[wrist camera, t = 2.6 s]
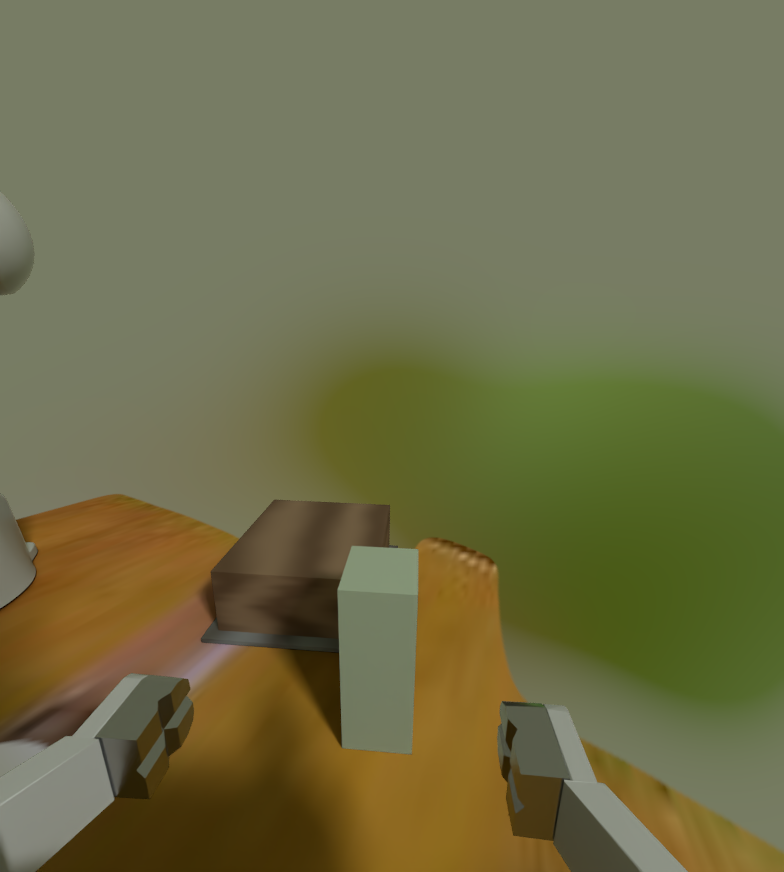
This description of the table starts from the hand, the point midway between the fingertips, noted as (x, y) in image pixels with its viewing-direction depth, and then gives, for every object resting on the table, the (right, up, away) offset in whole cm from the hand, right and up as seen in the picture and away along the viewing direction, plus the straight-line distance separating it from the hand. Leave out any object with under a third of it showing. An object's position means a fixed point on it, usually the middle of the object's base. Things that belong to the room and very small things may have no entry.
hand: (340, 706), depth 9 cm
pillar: (+1, -13, +16) cm, 21 cm away
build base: (-7, -9, +29) cm, 31 cm away
